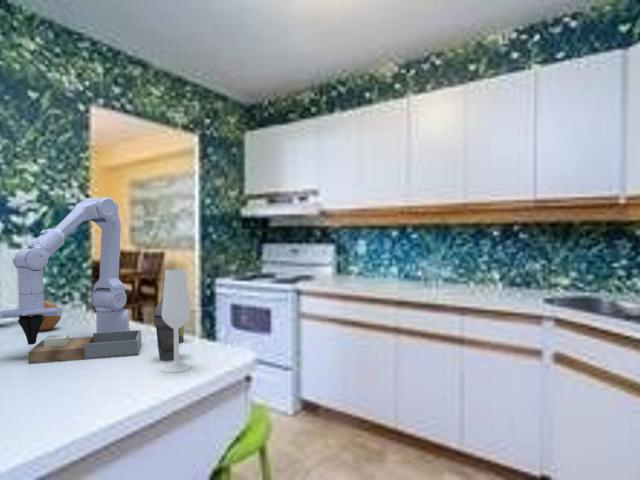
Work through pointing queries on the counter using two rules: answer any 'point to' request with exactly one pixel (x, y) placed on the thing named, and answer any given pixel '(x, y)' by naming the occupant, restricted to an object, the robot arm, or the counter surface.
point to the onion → (49, 318)
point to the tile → (56, 340)
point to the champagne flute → (175, 311)
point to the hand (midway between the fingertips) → (32, 343)
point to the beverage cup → (164, 335)
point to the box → (113, 344)
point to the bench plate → (59, 351)
